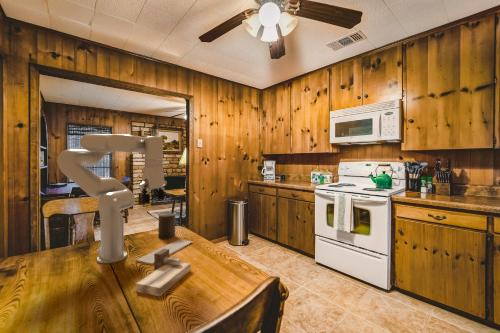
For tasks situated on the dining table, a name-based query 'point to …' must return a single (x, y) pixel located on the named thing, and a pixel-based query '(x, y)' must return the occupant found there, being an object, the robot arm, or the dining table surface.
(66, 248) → the dining table surface
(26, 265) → the dining table surface
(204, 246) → the dining table surface
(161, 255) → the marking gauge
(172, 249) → the baseboard
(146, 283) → the birch plank
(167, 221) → the pillar candle
